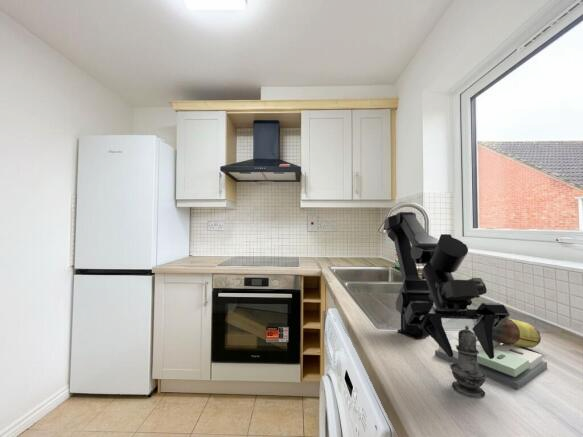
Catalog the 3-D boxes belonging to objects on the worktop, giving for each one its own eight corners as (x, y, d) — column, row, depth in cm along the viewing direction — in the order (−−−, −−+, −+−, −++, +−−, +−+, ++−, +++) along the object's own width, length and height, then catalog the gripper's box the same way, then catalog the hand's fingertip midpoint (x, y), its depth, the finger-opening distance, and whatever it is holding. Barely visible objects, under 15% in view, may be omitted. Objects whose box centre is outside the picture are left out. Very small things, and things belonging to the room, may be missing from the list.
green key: (474, 367, 57) (474, 353, 57) (489, 359, 61) (489, 346, 61) (515, 383, 51) (514, 367, 51) (529, 373, 55) (528, 359, 55)
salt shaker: (494, 401, 47) (492, 332, 48) (457, 396, 48) (456, 329, 49) (477, 382, 53) (476, 321, 53) (445, 379, 54) (444, 319, 54)
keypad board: (435, 355, 64) (434, 343, 64) (468, 341, 72) (468, 330, 73) (517, 389, 50) (517, 374, 51) (547, 367, 59) (546, 354, 59)
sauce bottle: (519, 318, 72) (476, 304, 64) (547, 333, 67) (503, 319, 59) (508, 339, 73) (464, 327, 65) (534, 355, 67) (489, 345, 60)
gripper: (408, 262, 56) (433, 336, 45) (501, 264, 55) (552, 340, 43) (397, 291, 64) (415, 361, 52) (478, 293, 62) (516, 365, 51)
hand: (471, 357), depth 49 cm, fingers open, 7 cm apart
